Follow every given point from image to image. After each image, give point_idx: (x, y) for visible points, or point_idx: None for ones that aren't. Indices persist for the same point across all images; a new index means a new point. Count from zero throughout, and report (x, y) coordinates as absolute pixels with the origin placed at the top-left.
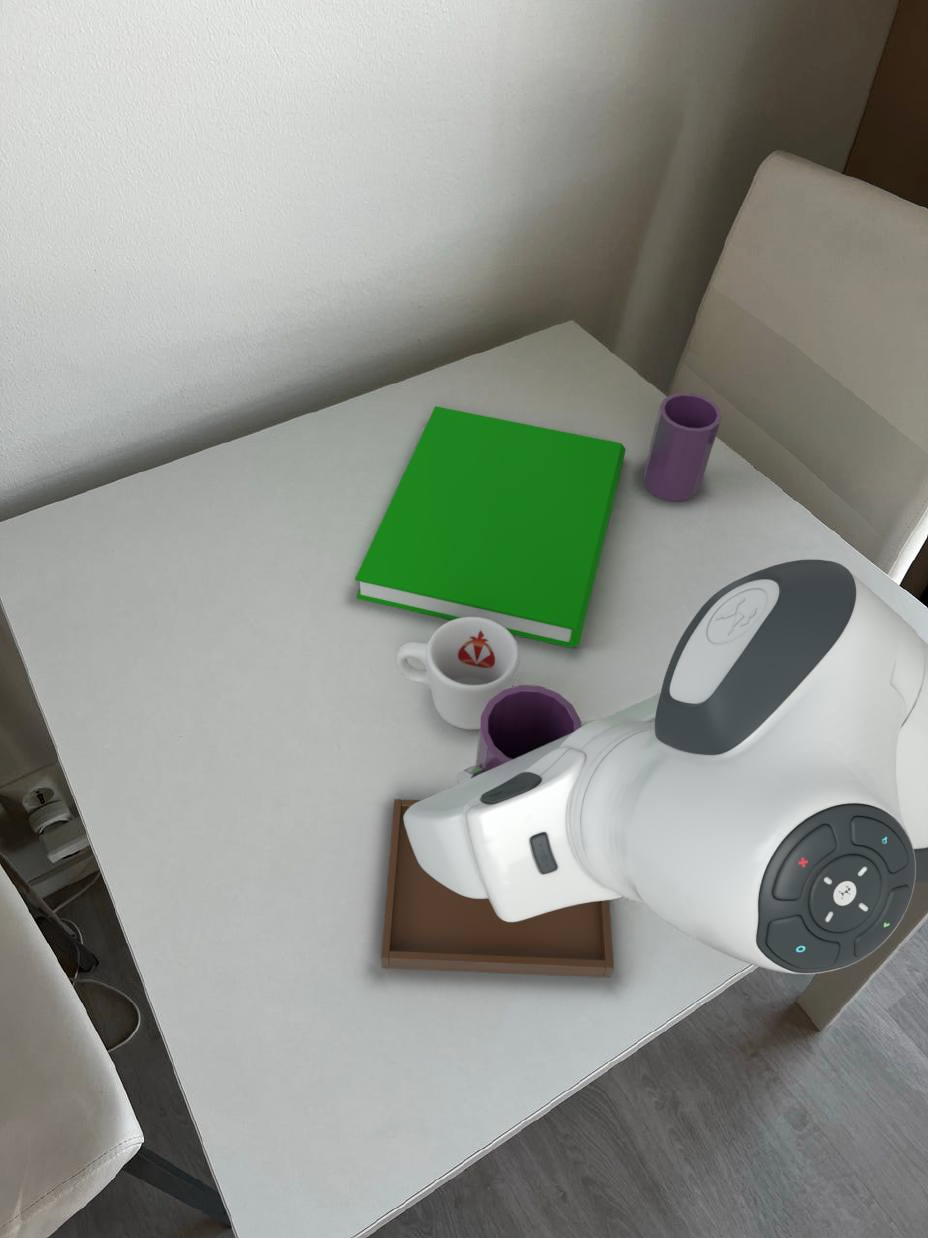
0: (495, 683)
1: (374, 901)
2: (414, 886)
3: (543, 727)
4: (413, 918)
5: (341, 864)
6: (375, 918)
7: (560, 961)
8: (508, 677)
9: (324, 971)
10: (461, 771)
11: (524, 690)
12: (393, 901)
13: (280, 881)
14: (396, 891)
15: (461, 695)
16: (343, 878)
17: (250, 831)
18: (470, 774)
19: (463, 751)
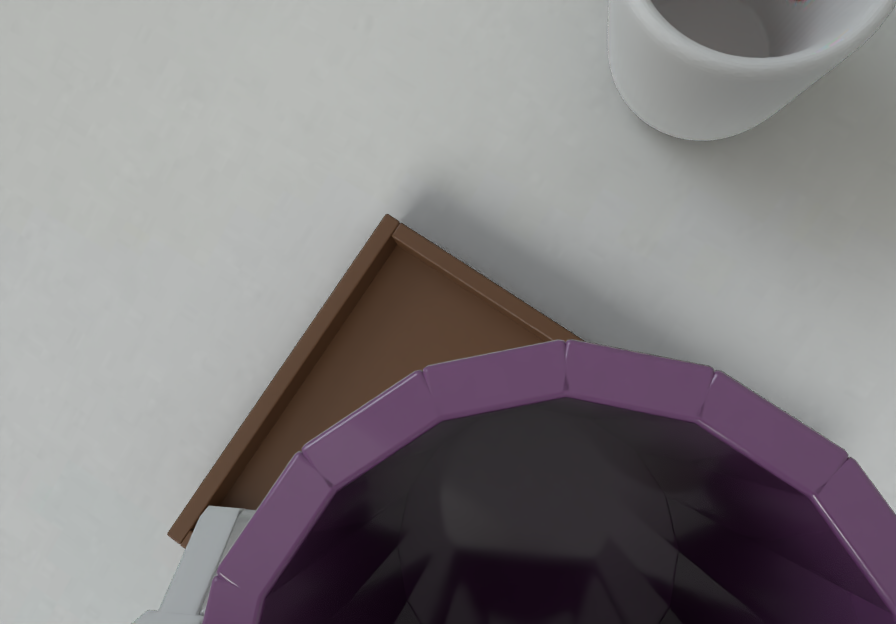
0: (760, 68)
1: (250, 390)
2: (332, 411)
3: (738, 520)
4: None
5: (234, 281)
6: (233, 425)
7: None
8: (810, 67)
9: (94, 468)
10: (223, 520)
11: (714, 427)
12: (255, 434)
13: (113, 251)
14: (292, 401)
15: (650, 53)
16: (222, 311)
17: (115, 120)
18: (189, 617)
19: (613, 170)
